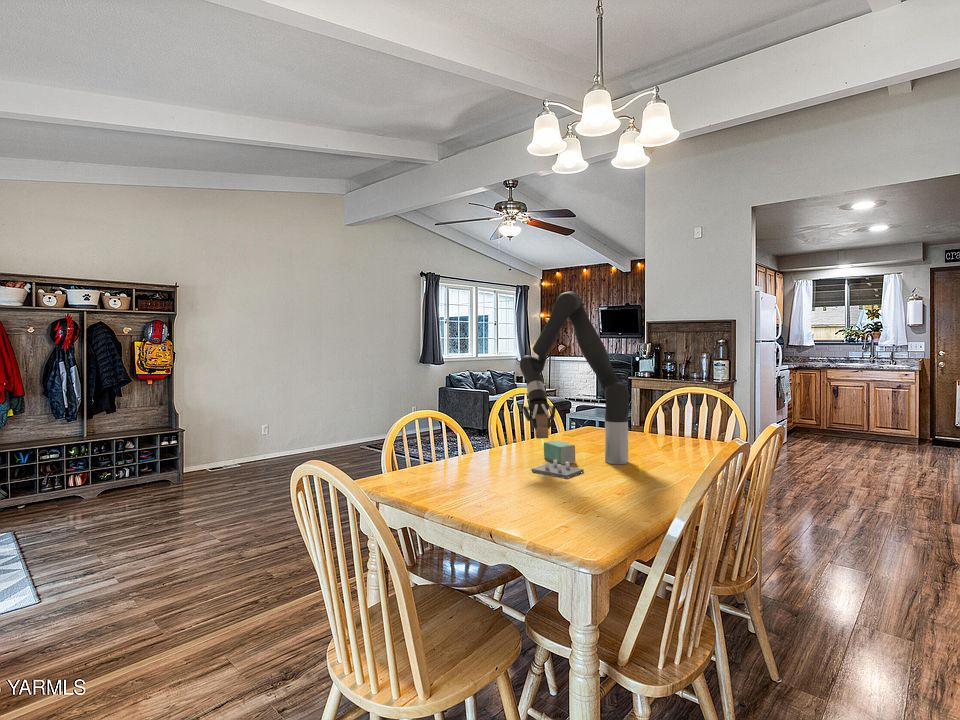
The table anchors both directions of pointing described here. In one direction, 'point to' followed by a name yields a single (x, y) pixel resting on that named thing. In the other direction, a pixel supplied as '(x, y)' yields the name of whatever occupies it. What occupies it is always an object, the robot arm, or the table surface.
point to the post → (541, 426)
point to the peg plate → (557, 469)
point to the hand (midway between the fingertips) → (542, 427)
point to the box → (559, 451)
